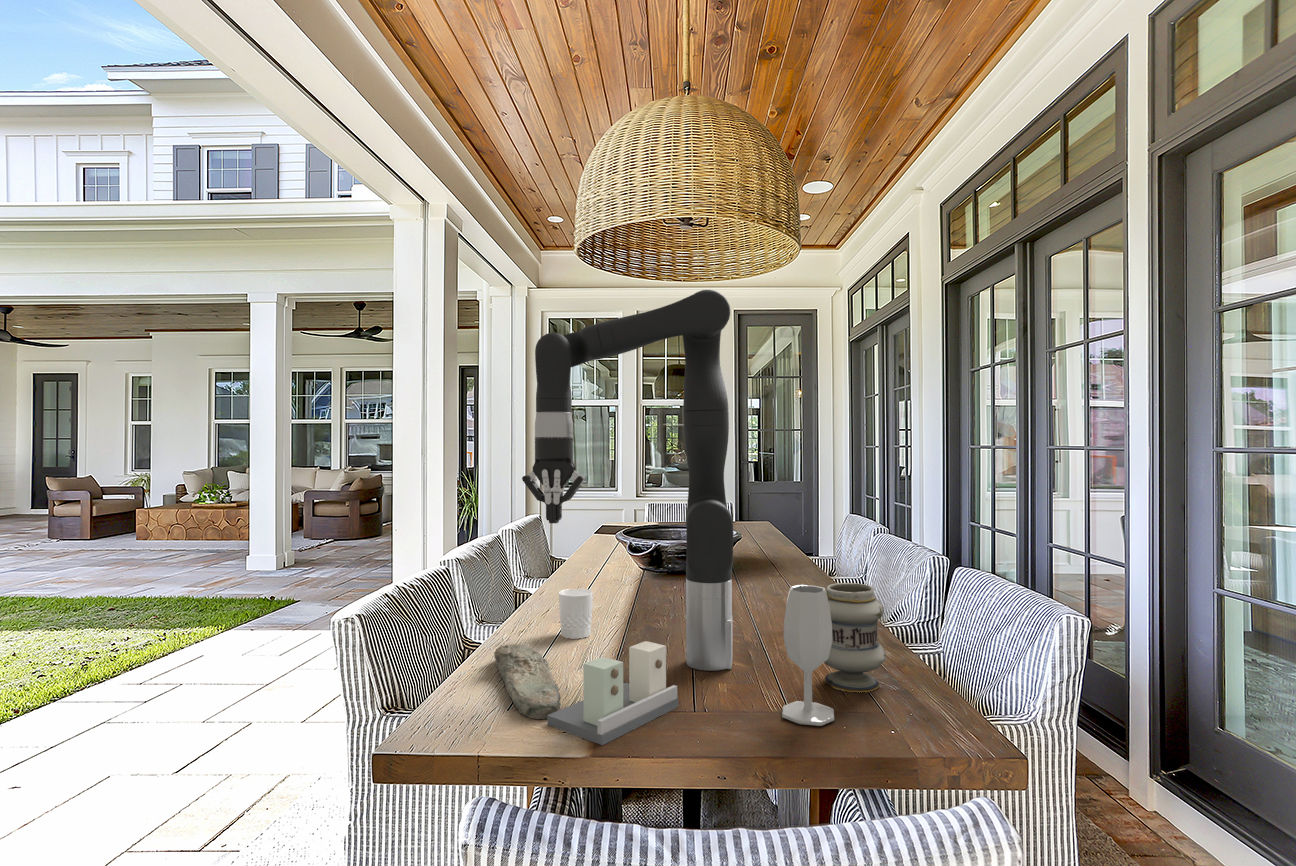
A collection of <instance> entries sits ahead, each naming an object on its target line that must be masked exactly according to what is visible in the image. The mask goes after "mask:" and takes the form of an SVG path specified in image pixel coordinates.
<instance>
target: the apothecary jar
mask: <svg viewBox="0 0 1296 866" xmlns="http://www.w3.org/2000/svg"><path fill="white" fill-rule="evenodd" d="M826 593H827V596H828V600H829V606H830V613H831V620H832V645H831V649H830V653H829V657H828V659H827V660H826V661H825V662H824V663H823V664H826V665H827V666H828V667H830V668H831V669H834V670H836V671H834V672H829V673H827V674H826V675H825V676H824V679H823V681H824V684H825V685H828V686H830V687H831V688H832V689H834V690H837V691H840V690H841V692H846V691H847V692H846V693H853V692H857V693H856V694H863V693H862V692H865V693H870V692H869V691H871V692H873V690H874V691H876V690H878V689H879V688H880V682H879V681H878V679H876V678H875V677H873V676H871V675H869V674H867V672H871V671H874V670H876V669H878V668H880V666H882V665H883V664H884V662H885V660H886V658H887V657H886V651H885V649H884V647H883V646H882V645H881V644H880V643H879V636H878V635H879V634H878V620H880V619H881V618H882V617H883V615H884V613H885V610H884V606H883V605H884V604H882V602H881V601H880V600H879V599H877V598H876V595H875V591H874V588H873V586H871V585H867V584H865V583H864V584H863V583H858V582H857V583H855V582H838V583H832V584H829V585H828V586H827V587H826ZM858 692H859V693H858ZM860 692H861V693H860Z"/></svg>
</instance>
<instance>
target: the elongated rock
mask: <svg viewBox="0 0 1296 866" xmlns="http://www.w3.org/2000/svg"><path fill="white" fill-rule="evenodd" d="M493 653H494V657H493V658H494V659H495V664H496V668H498V671H499V673H498V675H499V676H501V675H502V676H501V679H502V680H503V681H504V683H505V688H506V693H507V694H508V695H509V697H510V698H511V699H512V702H513V705H514V706H515V707H516V709H517V710H518V712H519V714H522V715H524V716H525V717H527V718H529V719H534V720H547V715H549V714H551V713H554V712H556V711H559V710H560V708H561V705H562V704H561V703H560V701H561V694H560V693H559V686H558V684H556V682H555V679H554V677H553V672H552V671H551V670H550V667H549V662H548V660H547V659H546V658H545V657H544V656H543V654H541V653H539V652H538V650H535V649H534V648H533V647H531V646H529V645H527V644H525V643H524V644H523V643H520V644H519V643H511V644H505V645H500V646H499V647H497V649H496V648H495V651H494V652H493Z"/></svg>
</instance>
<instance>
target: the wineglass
mask: <svg viewBox="0 0 1296 866" xmlns="http://www.w3.org/2000/svg"><path fill="white" fill-rule="evenodd" d="M826 592H827V589H826V588H825V587H823V586H818V585H812V584H811V585H810V584H809V585H808V584H797V585H792V586H790V589H789V591H788V595H787V598H786V604H785V605H786V606H785V612H784V620H783V643H784V647H785V650H786V655H787V658H788V659H790V661H792V662H793V664H795V665H796V666H797V667H798V668H799V669H800V670H801V671H803V700H802V701H800V700H795V701H793V702H790V703H788V704H785V705H783V706H782V715H781V718H782V719H786V720H788V721H790V722H792V723H794V724H798V725H802V726H803V725H804V726H814V727H815V726H816V727H823V726H825V725H827V724H829V723H831V722H834V721H835V710H834V708H833V707H830V706H828V705H825V704H821V703H819V702H813V672H814V671H816V670H817V669H818V668H819V667H820V666H822V665H823V664H825V663H824V662H825V661H826V660H827V659H828V657H829V653H830V649H831V645H832V620H831V613H830V606H829V600H828V596H827V593H826Z"/></svg>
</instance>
